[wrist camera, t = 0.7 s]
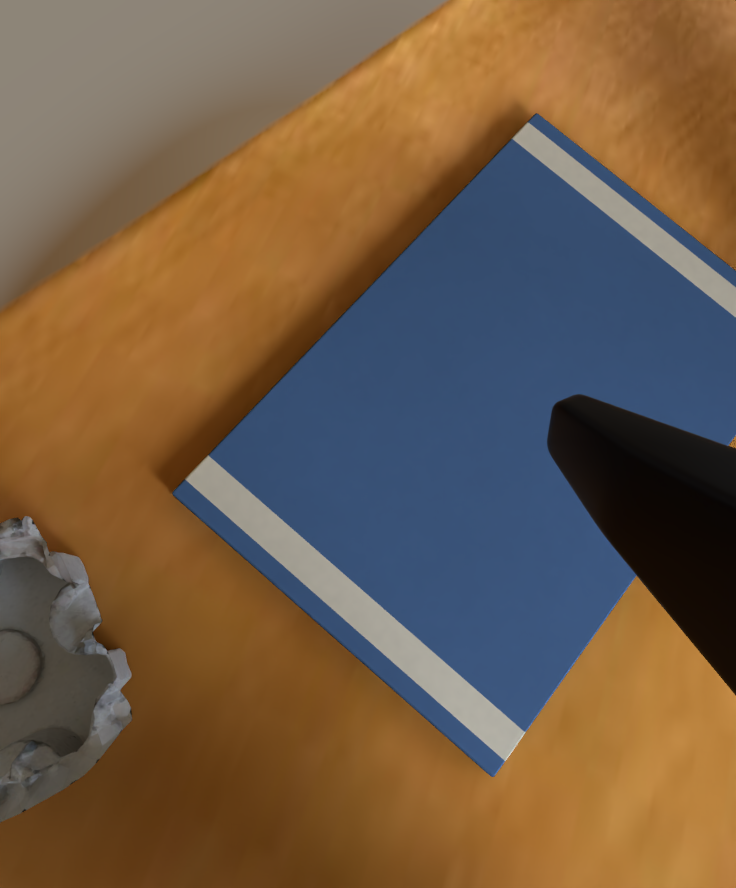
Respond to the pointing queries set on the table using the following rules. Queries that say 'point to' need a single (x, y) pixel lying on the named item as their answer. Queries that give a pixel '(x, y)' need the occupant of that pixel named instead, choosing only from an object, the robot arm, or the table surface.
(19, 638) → the egg carton
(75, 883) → the table surface
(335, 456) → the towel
